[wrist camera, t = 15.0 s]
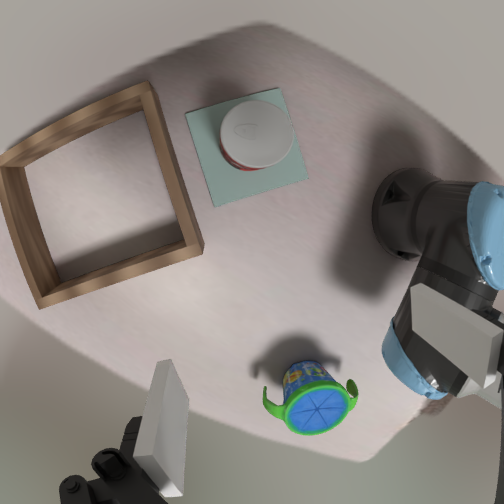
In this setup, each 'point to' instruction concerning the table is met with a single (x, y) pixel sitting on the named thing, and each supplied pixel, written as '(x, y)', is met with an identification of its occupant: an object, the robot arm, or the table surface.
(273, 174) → the mat
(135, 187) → the table surface
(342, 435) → the table surface
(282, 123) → the canned food
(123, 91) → the frame
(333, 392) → the snack cup
